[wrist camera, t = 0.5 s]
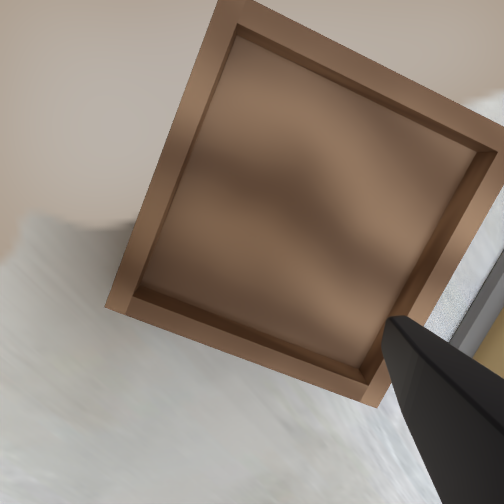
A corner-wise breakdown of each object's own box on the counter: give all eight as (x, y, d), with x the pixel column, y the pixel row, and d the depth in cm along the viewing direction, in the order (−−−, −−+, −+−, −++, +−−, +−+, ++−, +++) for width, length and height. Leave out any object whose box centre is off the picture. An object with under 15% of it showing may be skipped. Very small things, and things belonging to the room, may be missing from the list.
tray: (363, 385, 27) (376, 408, 24) (117, 292, 24) (104, 307, 22) (498, 141, 23) (529, 139, 21) (224, 5, 21) (223, -15, 18)
